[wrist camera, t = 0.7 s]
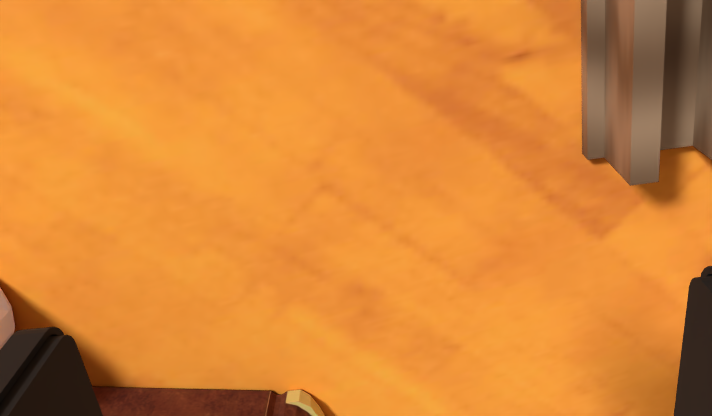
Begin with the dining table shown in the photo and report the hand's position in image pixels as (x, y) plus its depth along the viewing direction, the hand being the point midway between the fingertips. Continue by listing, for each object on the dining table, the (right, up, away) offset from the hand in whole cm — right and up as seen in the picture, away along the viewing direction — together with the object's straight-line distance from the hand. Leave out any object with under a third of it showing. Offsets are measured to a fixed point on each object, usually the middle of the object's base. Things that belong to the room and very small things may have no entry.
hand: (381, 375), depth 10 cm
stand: (+16, +12, +24) cm, 31 cm away
